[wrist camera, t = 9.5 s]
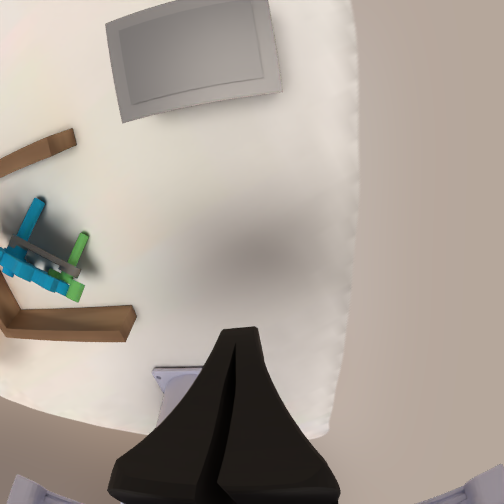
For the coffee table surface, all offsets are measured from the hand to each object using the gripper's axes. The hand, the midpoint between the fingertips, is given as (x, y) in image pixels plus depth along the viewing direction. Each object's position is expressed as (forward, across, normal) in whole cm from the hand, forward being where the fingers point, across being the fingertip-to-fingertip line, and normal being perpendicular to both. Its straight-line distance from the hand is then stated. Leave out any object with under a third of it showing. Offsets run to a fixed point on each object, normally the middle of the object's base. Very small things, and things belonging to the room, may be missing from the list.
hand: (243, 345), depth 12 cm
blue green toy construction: (+10, +16, -2) cm, 19 cm away
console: (+10, +1, -11) cm, 15 cm away
